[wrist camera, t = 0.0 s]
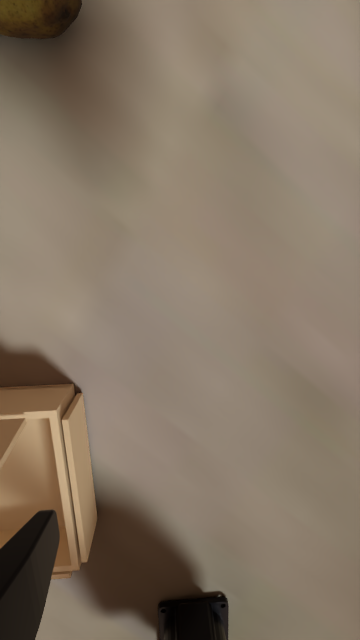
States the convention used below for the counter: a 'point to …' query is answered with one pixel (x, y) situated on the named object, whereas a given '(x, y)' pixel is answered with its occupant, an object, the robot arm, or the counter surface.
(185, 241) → the counter surface
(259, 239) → the counter surface
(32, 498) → the carton
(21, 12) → the potato
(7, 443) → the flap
